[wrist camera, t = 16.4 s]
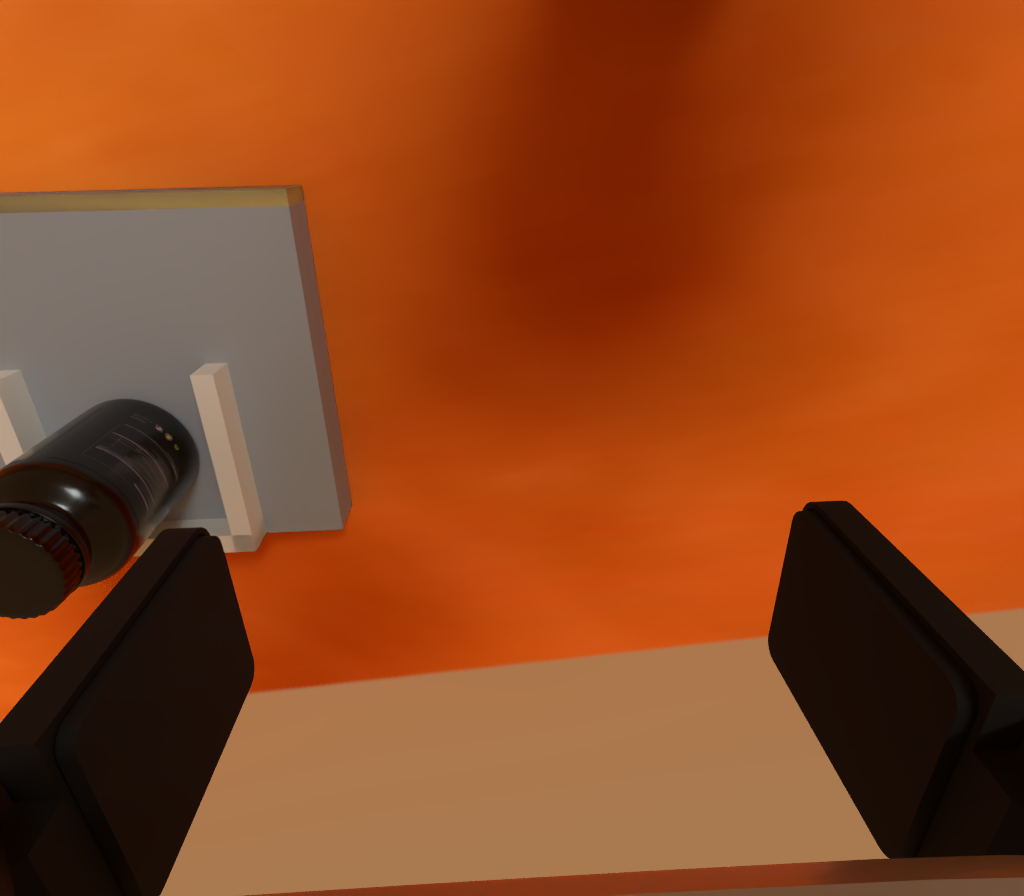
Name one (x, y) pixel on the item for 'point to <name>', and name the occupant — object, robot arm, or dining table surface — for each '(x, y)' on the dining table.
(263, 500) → the dock
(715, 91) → the dining table surface
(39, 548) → the supplement bottle
